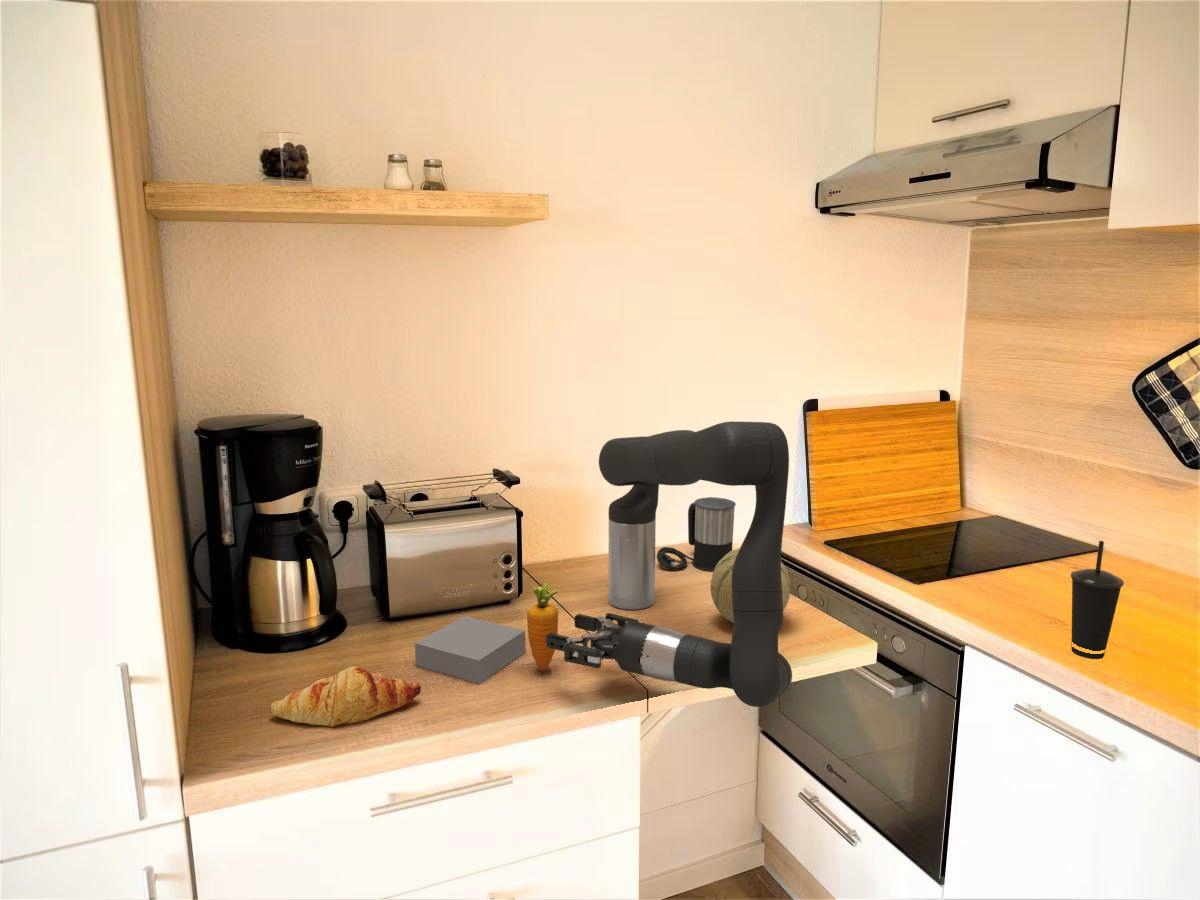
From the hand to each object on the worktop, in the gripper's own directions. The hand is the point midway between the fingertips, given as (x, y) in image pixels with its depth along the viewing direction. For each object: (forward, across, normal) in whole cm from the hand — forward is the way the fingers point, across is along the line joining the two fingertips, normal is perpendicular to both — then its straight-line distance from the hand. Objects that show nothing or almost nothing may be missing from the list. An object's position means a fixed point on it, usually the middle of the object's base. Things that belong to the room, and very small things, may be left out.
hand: (561, 629), depth 128 cm
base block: (+17, +2, +8) cm, 19 cm away
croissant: (+22, +24, +8) cm, 34 cm away
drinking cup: (-75, -51, +8) cm, 90 cm away
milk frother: (+1, -60, +8) cm, 61 cm away
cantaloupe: (-20, -35, +8) cm, 41 cm away
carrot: (+4, 0, +8) cm, 9 cm away
